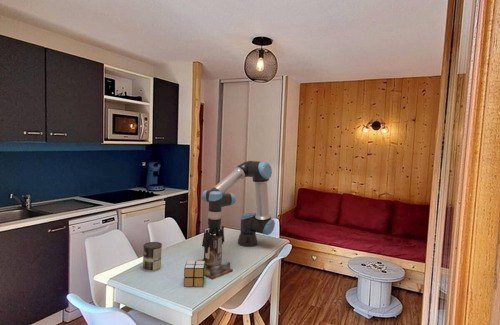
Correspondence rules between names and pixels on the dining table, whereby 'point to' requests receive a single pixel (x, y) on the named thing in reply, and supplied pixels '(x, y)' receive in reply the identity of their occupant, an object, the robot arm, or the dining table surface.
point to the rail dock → (207, 272)
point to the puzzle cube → (194, 274)
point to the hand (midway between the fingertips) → (212, 256)
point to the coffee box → (214, 251)
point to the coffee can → (152, 256)
